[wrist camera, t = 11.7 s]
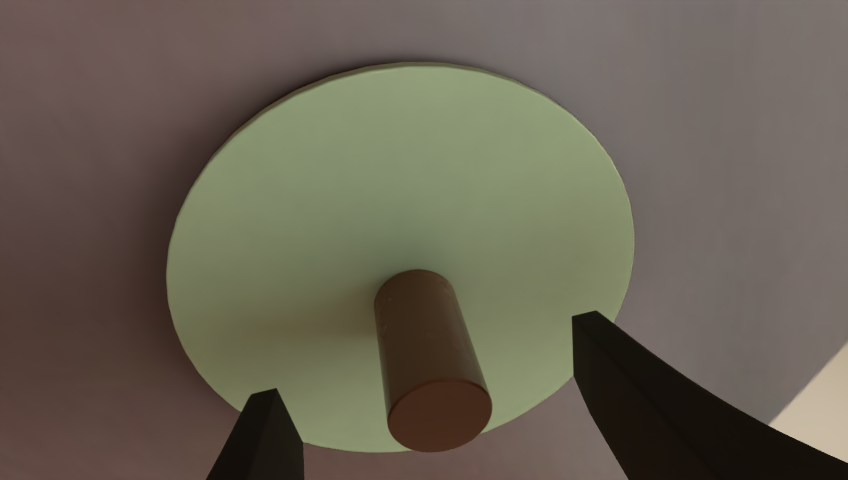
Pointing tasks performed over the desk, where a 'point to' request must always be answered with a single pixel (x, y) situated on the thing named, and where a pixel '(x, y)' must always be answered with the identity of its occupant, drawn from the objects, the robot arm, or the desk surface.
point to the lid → (399, 255)
